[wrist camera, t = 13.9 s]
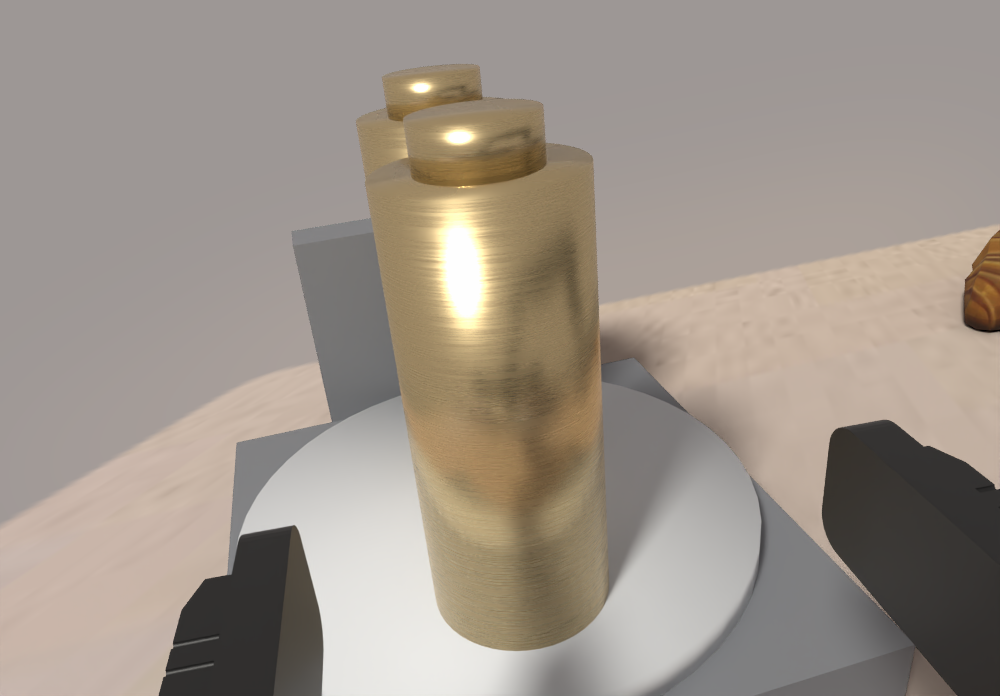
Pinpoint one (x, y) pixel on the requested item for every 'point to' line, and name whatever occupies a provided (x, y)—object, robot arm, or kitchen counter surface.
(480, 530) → the weight
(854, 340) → the kitchen counter surface
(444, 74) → the weight
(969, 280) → the croissant
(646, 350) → the kitchen counter surface
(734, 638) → the scale
